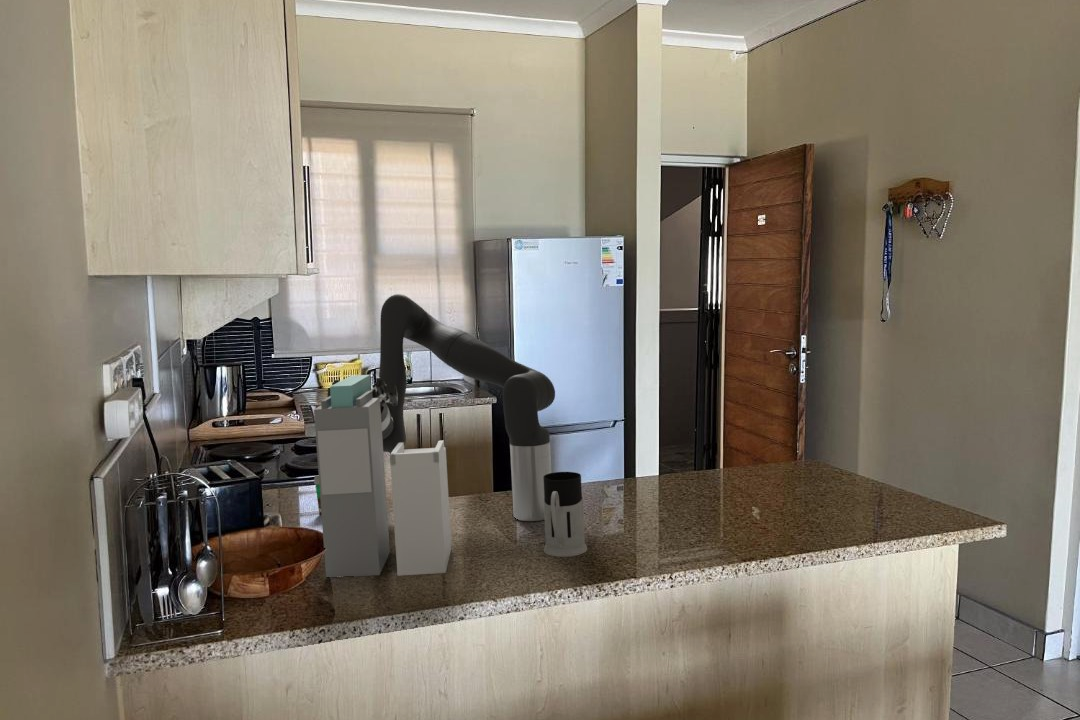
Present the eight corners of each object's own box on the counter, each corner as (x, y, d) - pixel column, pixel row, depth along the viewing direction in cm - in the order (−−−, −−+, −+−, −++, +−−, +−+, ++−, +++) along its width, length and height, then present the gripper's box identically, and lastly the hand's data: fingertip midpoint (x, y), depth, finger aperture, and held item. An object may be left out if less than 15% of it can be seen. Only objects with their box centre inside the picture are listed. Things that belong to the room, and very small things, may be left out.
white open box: (451, 547, 167) (445, 437, 165) (445, 572, 152) (438, 451, 150) (407, 550, 166) (400, 440, 164) (397, 575, 151) (389, 454, 149)
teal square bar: (371, 393, 170) (370, 374, 170) (353, 406, 150) (351, 385, 150) (352, 394, 170) (351, 375, 170) (331, 407, 150) (329, 386, 150)
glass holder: (590, 543, 165) (587, 471, 164) (578, 566, 151) (574, 488, 150) (548, 542, 167) (545, 470, 166) (532, 565, 153) (528, 487, 152)
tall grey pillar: (389, 552, 165) (379, 390, 162) (379, 575, 152) (367, 398, 149) (340, 555, 165) (329, 392, 162) (325, 578, 152) (313, 401, 149)
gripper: (340, 398, 182) (322, 367, 167) (403, 394, 182) (392, 364, 167) (338, 429, 178) (320, 401, 164) (403, 425, 179) (391, 397, 164)
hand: (356, 382), depth 166 cm, fingers open, 8 cm apart
